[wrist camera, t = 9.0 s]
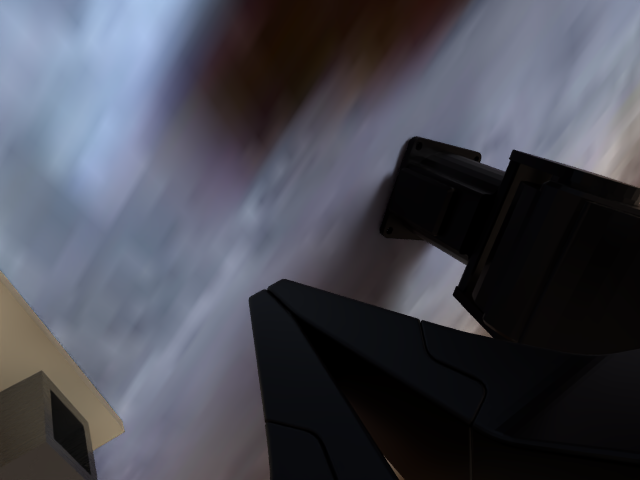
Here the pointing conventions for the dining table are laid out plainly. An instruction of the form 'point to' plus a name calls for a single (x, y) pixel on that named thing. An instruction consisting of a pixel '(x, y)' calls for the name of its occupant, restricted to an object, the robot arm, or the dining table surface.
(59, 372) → the birch board
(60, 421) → the sleeve
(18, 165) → the dining table surface
